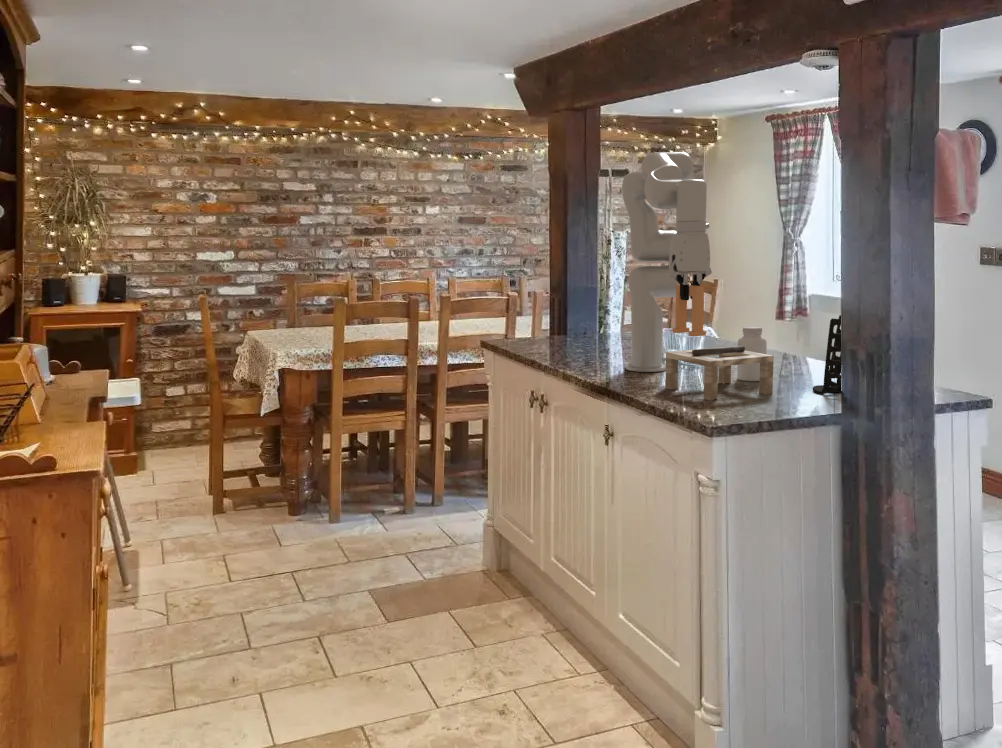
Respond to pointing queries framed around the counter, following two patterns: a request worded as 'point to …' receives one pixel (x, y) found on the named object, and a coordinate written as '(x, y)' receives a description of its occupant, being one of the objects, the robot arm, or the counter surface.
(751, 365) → the pill bottle
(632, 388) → the counter surface
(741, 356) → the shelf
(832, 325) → the holder
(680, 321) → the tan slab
